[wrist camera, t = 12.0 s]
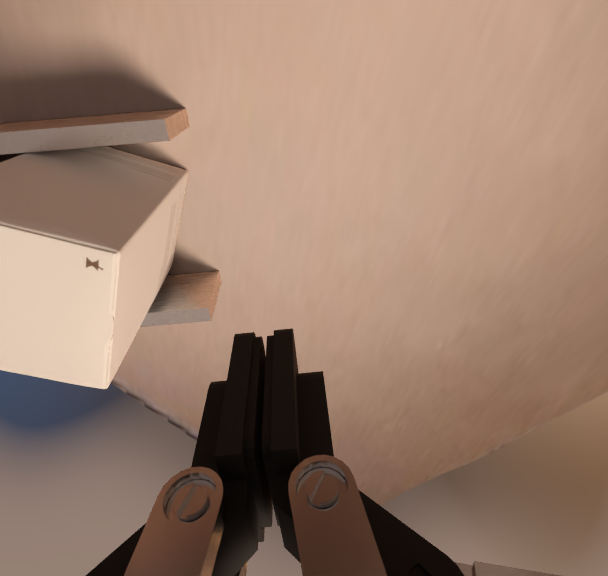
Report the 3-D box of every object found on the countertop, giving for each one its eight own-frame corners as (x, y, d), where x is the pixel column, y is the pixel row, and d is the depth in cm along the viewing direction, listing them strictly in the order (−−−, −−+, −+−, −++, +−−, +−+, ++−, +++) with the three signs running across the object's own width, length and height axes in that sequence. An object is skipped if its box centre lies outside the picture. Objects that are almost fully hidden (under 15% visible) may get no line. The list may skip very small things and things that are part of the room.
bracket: (185, 108, 28) (155, 123, 21) (221, 282, 35) (207, 336, 28) (0, 123, 28) (-92, 143, 21) (74, 295, 35) (24, 352, 28)
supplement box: (66, 131, 28) (-113, 190, 15) (190, 169, 30) (124, 250, 17) (63, 242, 33) (-80, 361, 20) (172, 269, 34) (108, 394, 21)
